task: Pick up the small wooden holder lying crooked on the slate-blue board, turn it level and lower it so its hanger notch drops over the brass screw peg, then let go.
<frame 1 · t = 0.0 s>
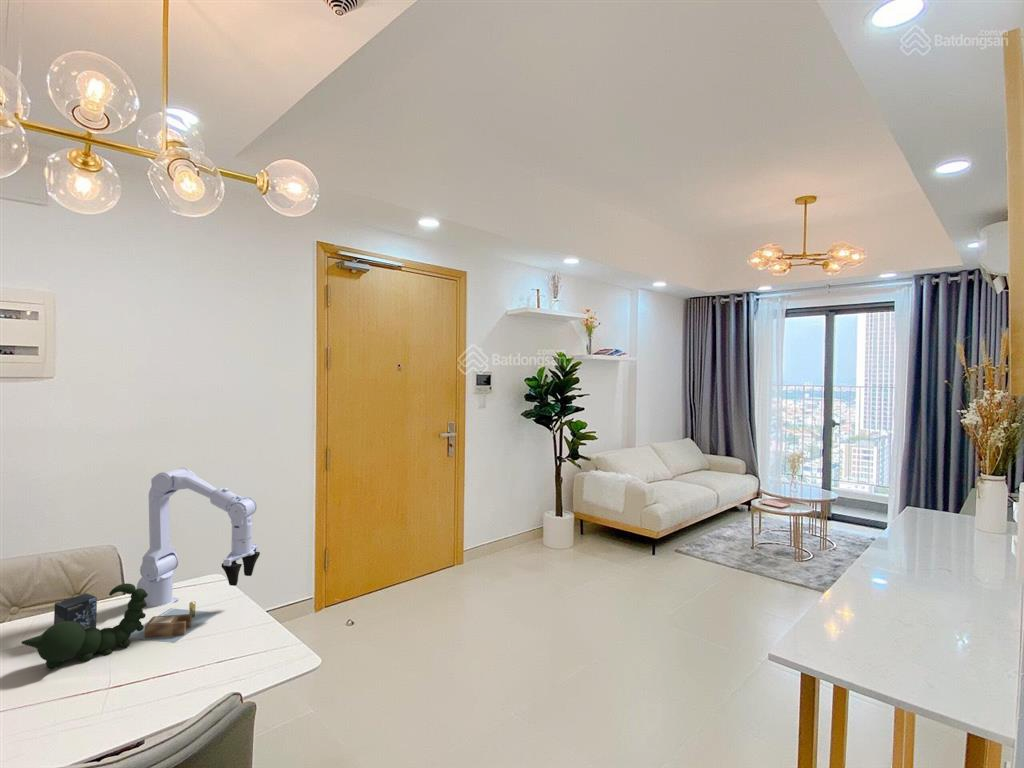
hand: (240, 580, 165), 10 cm above the table, fingers open, 7 cm apart
wooden holder: (168, 631, 150), point 1 cm above the table, touching board
peg: (192, 618, 160), resting on board
toy figurine: (87, 659, 137), on the table
board: (172, 627, 154), on the table
box: (75, 637, 147), on the table
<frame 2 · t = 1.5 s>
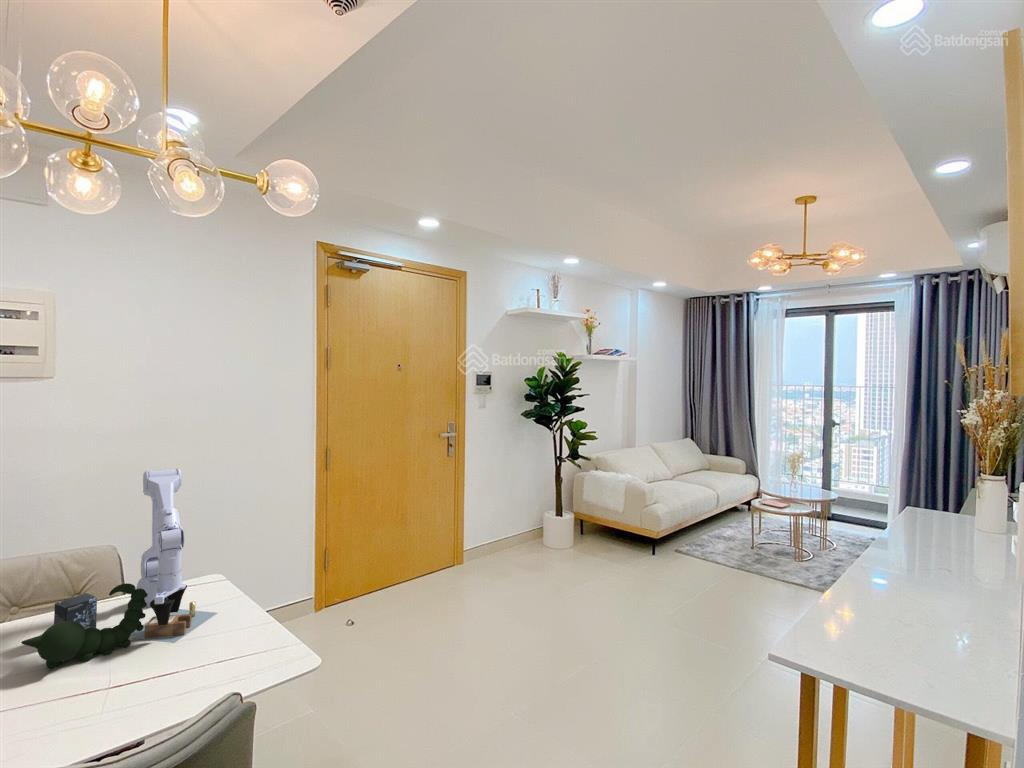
hand: (168, 618, 150), 5 cm above the table, fingers open, 7 cm apart
nothing on the table moved.
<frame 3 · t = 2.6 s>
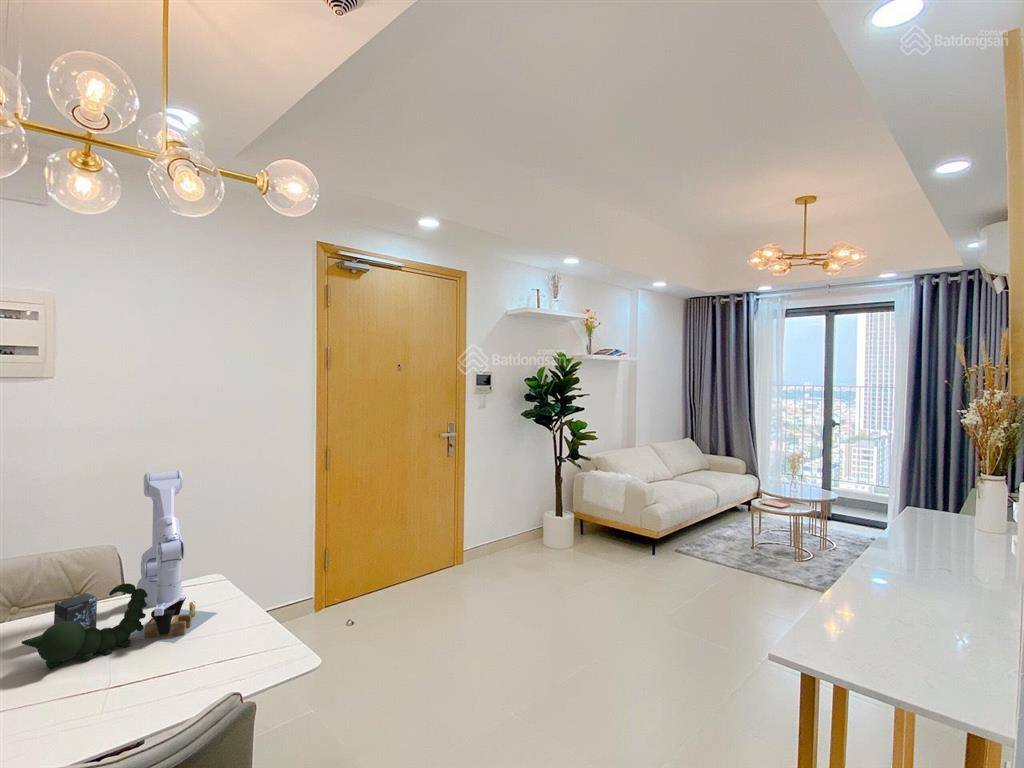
hand: (168, 628, 150), 2 cm above the table, fingers closed on wooden holder, 5 cm apart
wooden holder: (168, 631, 150), point 1 cm above the table, touching board, gripper
everything else where it was.
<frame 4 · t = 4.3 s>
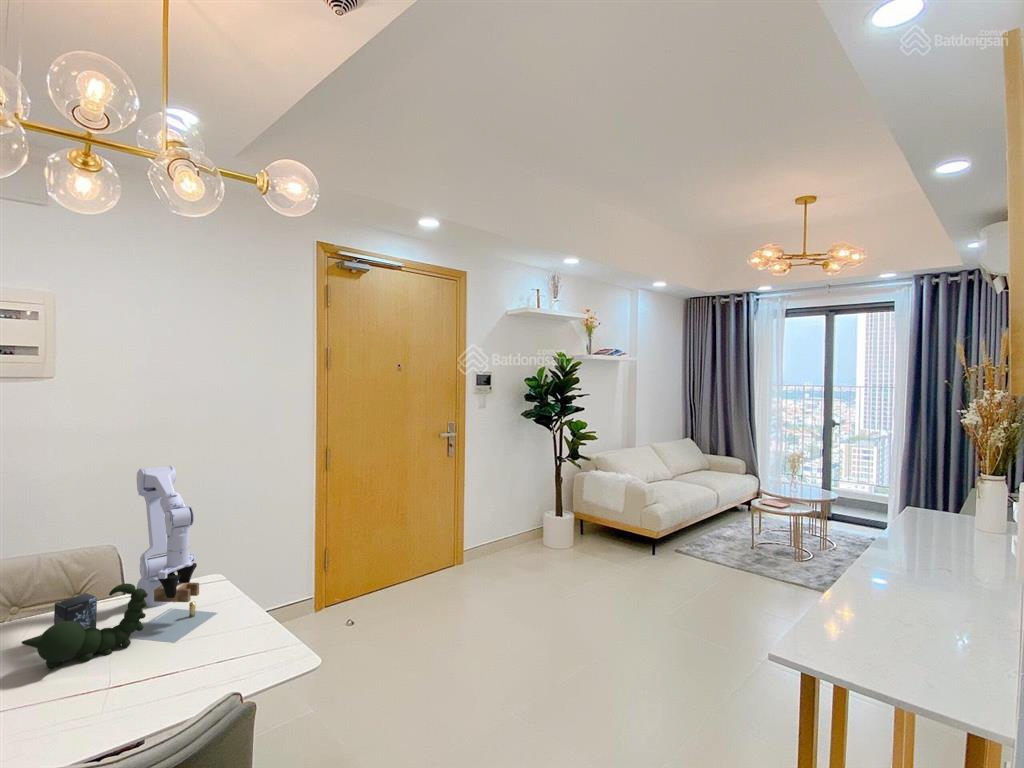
hand: (177, 593, 156), 9 cm above the table, fingers closed on wooden holder, 5 cm apart
wooden holder: (177, 597, 156), point 8 cm above the table, touching gripper
everything else where it was.
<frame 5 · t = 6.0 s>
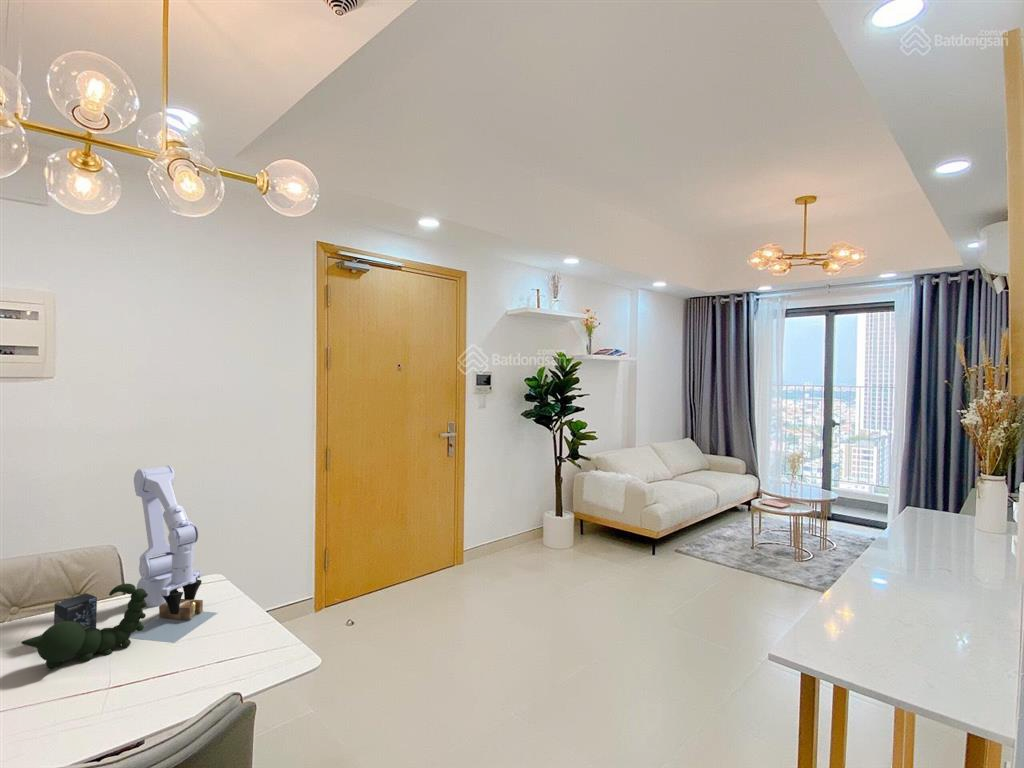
hand: (181, 609, 160), 3 cm above the table, fingers closed on wooden holder, 5 cm apart
wooden holder: (181, 614, 160), point 1 cm above the table, touching gripper
everything else where it was.
when the fingers open (3 cm above the table, at t = 6.7 s): wooden holder stays where it is, resting on board.
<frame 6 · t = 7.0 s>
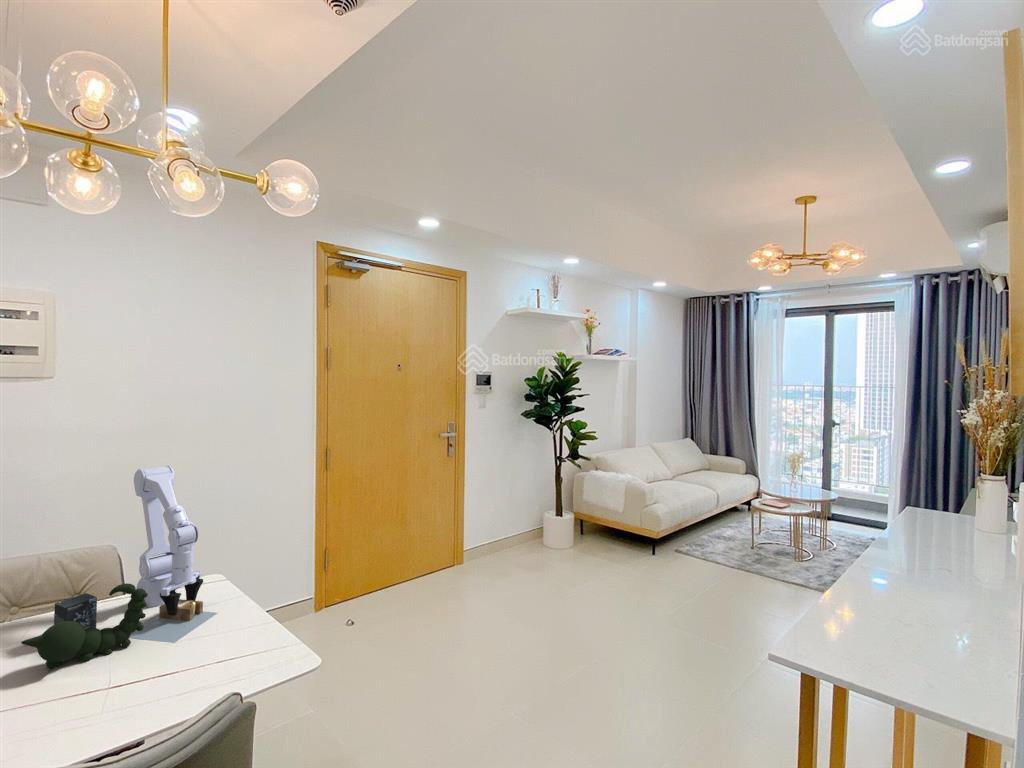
hand: (181, 609, 160), 3 cm above the table, fingers open, 7 cm apart
wooden holder: (181, 615, 160), point 1 cm above the table, touching board
everything else where it was.
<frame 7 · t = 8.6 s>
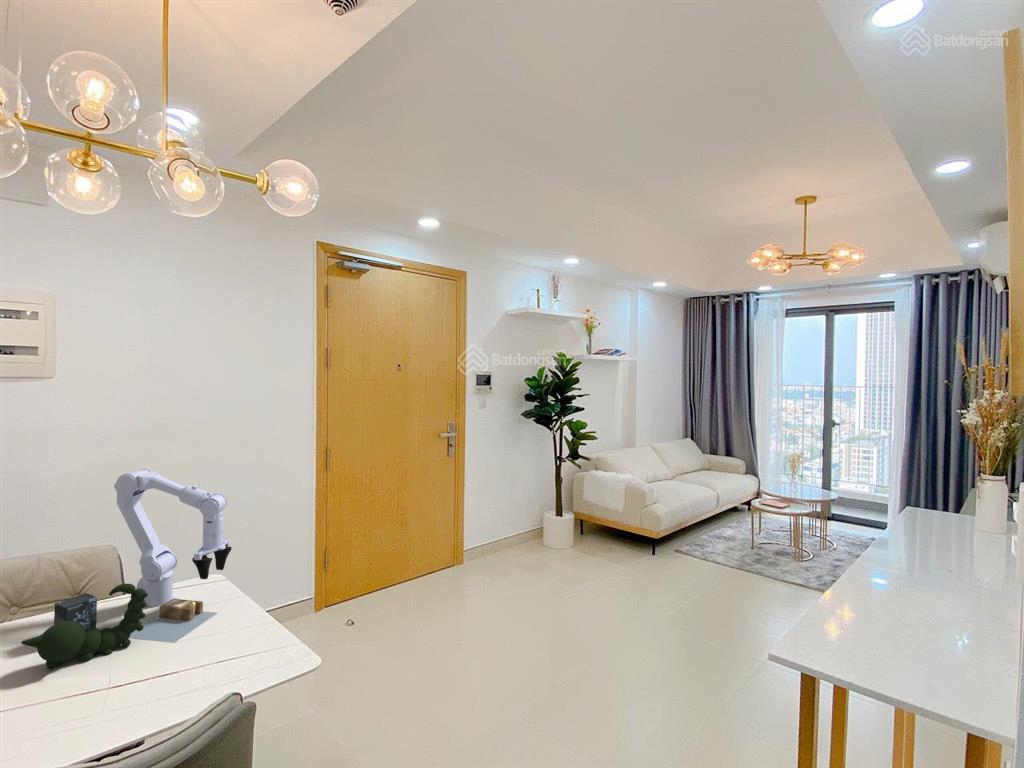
hand: (212, 574, 169), 10 cm above the table, fingers open, 7 cm apart
nothing on the table moved.
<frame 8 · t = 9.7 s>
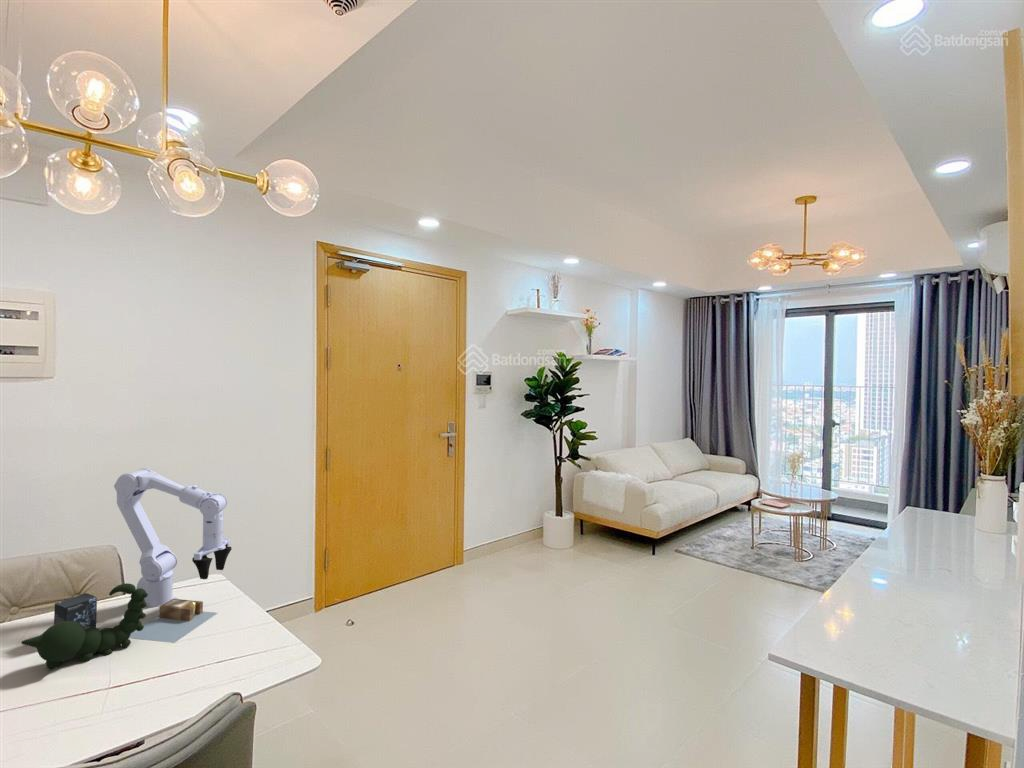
hand: (212, 574, 169), 10 cm above the table, fingers open, 7 cm apart
nothing on the table moved.
at the end: wooden holder 0.1 cm from the target spot on the table beside the peg, point 0.8 cm above the table; wooden holder tilted 0°; the gripper is holding nothing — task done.
